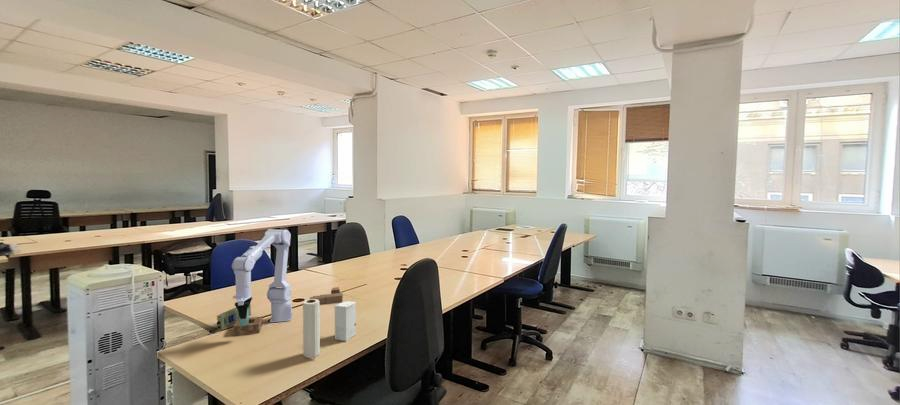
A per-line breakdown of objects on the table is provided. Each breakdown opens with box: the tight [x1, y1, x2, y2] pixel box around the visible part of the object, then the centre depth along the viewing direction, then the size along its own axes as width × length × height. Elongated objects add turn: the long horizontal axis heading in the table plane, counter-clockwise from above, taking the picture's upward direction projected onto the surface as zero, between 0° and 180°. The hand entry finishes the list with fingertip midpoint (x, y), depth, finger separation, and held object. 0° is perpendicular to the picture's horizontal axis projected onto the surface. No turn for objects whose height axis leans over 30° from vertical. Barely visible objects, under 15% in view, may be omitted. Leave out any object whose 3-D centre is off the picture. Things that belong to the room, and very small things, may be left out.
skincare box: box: [334, 300, 357, 342], centre depth 169 cm, size 8×6×15 cm
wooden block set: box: [309, 286, 343, 306], centre depth 221 cm, size 17×6×18 cm
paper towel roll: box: [302, 298, 321, 360], centre depth 151 cm, size 7×6×21 cm
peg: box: [239, 310, 250, 326], centre depth 165 cm, size 3×3×9 cm
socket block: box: [233, 316, 263, 337], centre depth 175 cm, size 10×10×4 cm
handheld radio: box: [208, 305, 252, 334], centre depth 182 cm, size 7×3×25 cm
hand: (244, 316), depth 165 cm, fingers closed on peg, 3 cm apart
